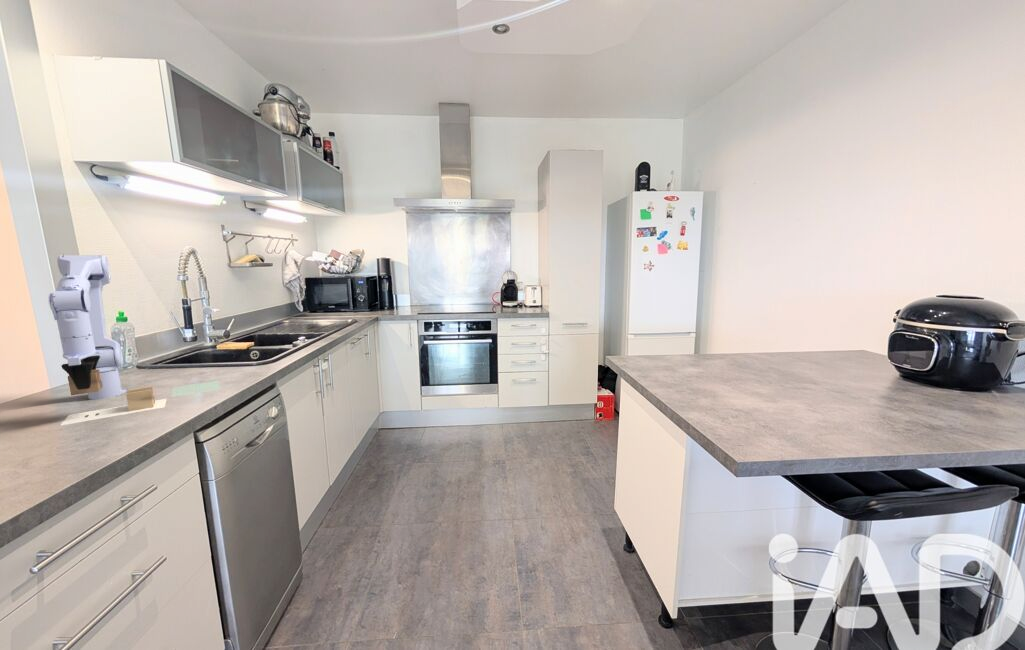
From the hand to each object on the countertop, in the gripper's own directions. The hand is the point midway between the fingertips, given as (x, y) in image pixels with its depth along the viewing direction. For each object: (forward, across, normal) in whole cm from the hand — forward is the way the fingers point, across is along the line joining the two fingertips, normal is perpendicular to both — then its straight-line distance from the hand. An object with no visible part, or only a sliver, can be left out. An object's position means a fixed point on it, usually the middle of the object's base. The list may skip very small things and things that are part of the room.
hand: (86, 386), depth 104 cm
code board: (+9, 0, -5) cm, 10 cm away
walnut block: (+1, 0, 0) cm, 1 cm away
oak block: (+8, 0, -10) cm, 13 cm away
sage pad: (+9, +11, -22) cm, 26 cm away
